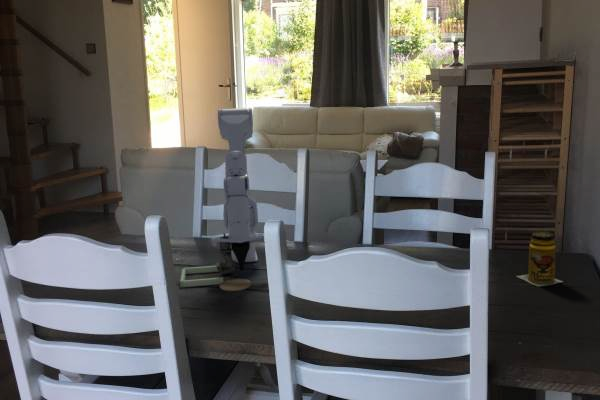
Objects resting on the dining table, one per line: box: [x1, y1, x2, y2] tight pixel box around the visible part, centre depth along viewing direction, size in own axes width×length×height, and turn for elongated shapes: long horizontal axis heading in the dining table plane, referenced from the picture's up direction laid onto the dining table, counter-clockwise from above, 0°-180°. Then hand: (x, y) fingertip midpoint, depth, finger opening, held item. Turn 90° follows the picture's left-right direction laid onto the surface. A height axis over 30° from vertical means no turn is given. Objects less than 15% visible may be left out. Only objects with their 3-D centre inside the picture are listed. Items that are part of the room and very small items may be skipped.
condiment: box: [516, 231, 564, 287], centre depth 150 cm, size 7×8×12 cm
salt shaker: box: [214, 233, 239, 281], centre depth 162 cm, size 6×6×12 cm
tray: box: [179, 265, 224, 288], centre depth 162 cm, size 12×11×2 cm
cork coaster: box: [219, 278, 252, 292], centre depth 155 cm, size 8×8×1 cm
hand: (241, 269), depth 163 cm, fingers closed
